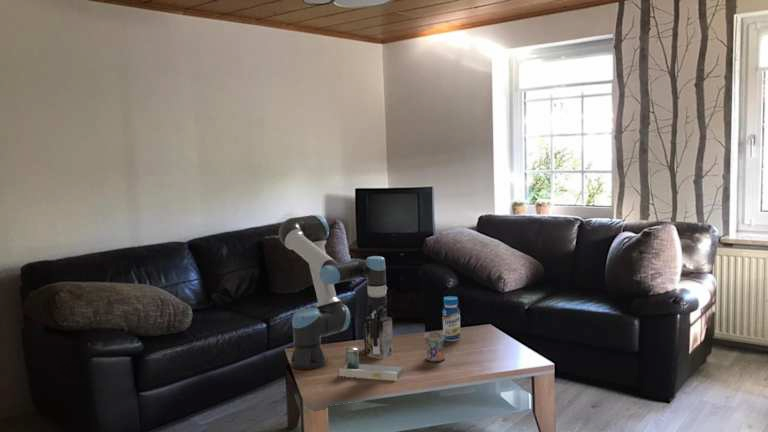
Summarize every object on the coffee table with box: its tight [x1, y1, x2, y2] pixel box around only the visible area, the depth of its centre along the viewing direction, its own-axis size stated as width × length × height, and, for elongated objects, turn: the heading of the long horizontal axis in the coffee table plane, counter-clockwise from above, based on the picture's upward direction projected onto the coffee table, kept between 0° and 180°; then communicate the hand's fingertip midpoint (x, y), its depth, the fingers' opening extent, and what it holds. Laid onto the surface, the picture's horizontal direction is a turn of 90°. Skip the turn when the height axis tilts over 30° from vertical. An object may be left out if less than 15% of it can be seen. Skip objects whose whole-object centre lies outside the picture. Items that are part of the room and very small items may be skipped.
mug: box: [423, 331, 446, 362], centre depth 264 cm, size 12×9×11 cm
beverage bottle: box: [441, 295, 462, 342], centre depth 290 cm, size 8×8×20 cm
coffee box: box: [365, 315, 394, 361], centre depth 247 cm, size 9×6×16 cm
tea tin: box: [345, 346, 360, 369], centre depth 252 cm, size 5×5×8 cm
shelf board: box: [338, 363, 404, 382], centre depth 249 cm, size 24×10×3 cm, turn 72°
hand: (380, 350), depth 247 cm, fingers closed on coffee box, 8 cm apart
